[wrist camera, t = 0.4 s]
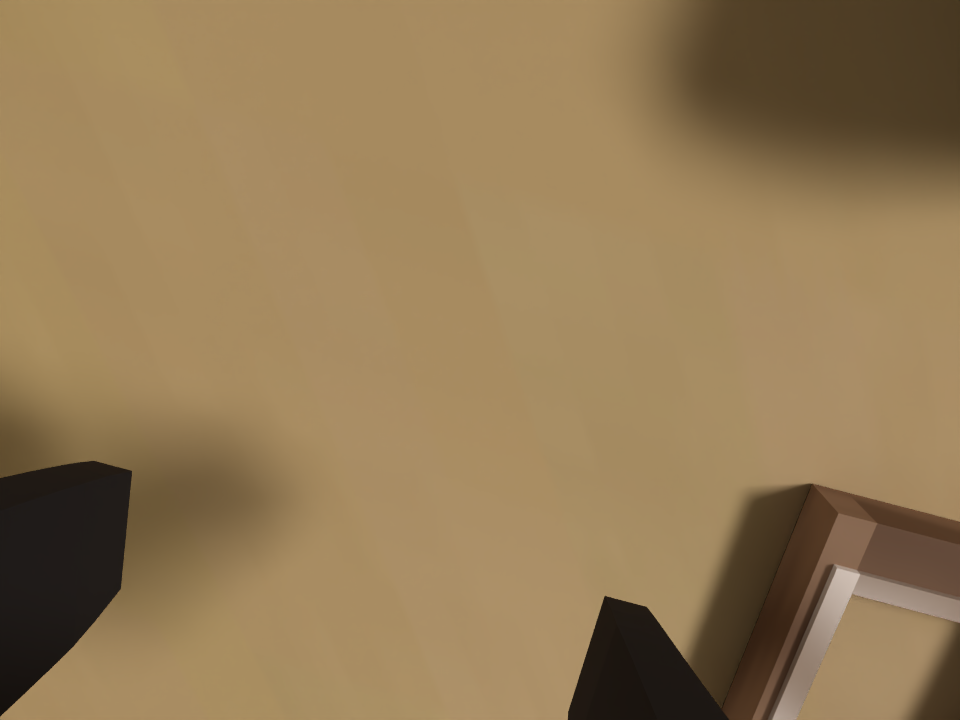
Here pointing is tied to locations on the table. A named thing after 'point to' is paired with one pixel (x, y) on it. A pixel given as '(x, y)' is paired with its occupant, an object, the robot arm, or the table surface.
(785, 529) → the table surface
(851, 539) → the brown wooden compartment tray
